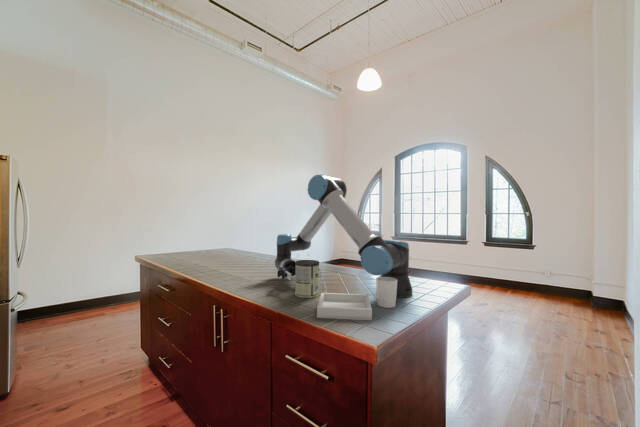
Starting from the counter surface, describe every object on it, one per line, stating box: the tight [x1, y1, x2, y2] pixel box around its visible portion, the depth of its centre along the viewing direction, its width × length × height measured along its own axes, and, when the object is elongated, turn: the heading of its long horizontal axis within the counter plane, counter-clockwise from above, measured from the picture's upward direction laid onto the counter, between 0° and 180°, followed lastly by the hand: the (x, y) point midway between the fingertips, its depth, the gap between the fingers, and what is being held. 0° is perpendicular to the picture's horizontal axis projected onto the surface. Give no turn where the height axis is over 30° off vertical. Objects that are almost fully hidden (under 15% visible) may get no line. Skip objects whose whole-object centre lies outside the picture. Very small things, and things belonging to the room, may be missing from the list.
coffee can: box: [294, 259, 320, 299], centre depth 123 cm, size 10×10×14 cm
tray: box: [316, 292, 373, 321], centre depth 104 cm, size 18×18×4 cm
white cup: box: [375, 276, 397, 309], centre depth 110 cm, size 8×8×10 cm
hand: (305, 275), depth 124 cm, fingers open, 13 cm apart
